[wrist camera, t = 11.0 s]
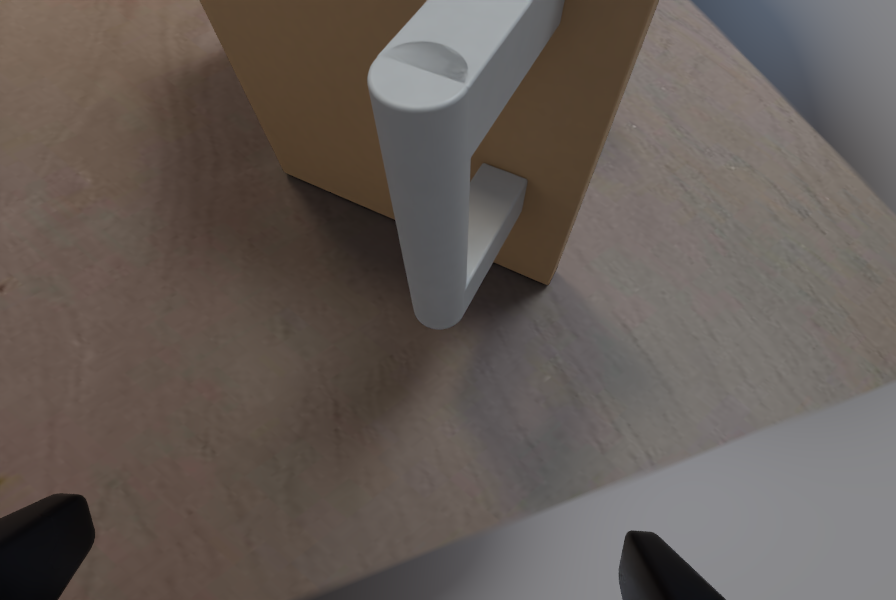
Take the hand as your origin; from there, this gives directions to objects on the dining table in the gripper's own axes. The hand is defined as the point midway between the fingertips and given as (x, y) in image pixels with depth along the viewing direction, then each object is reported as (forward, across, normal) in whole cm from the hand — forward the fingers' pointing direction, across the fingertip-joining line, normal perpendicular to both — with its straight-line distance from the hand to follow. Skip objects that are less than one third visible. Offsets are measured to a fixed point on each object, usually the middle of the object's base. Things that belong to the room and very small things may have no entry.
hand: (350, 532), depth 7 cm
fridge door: (+13, +2, -1) cm, 13 cm away
